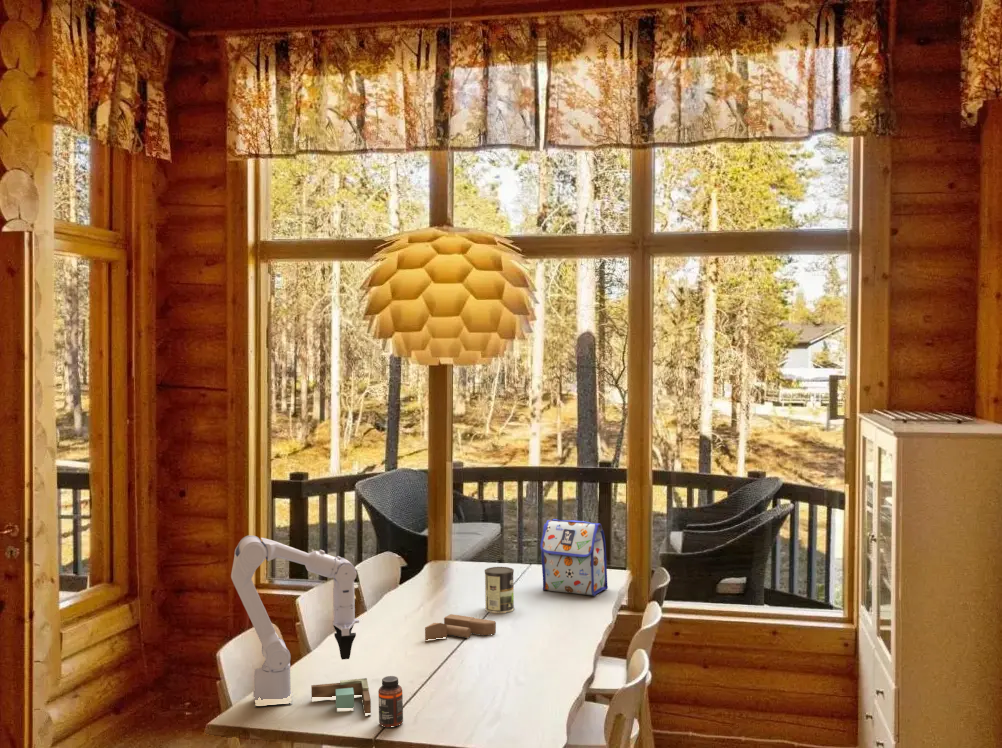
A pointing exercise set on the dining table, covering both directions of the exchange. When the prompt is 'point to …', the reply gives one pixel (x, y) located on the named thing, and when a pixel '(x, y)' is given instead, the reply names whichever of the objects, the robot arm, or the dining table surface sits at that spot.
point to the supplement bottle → (390, 702)
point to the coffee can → (499, 589)
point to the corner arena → (357, 684)
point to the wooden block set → (460, 627)
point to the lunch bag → (573, 557)
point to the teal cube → (345, 698)
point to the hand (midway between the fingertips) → (344, 654)
